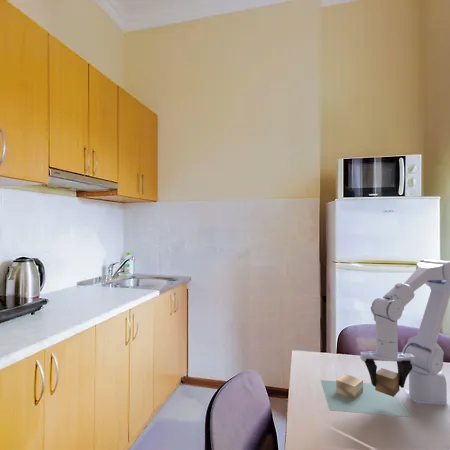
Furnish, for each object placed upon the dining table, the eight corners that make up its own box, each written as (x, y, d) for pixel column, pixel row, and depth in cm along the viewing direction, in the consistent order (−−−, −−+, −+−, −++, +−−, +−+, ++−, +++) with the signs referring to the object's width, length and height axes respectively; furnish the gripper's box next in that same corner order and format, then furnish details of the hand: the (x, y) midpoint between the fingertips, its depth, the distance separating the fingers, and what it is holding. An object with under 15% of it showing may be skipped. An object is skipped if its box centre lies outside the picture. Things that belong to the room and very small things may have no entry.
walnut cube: (399, 390, 91) (399, 373, 91) (393, 396, 88) (393, 379, 88) (381, 384, 95) (381, 367, 95) (375, 390, 92) (375, 373, 92)
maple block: (363, 392, 100) (362, 380, 100) (354, 399, 96) (354, 386, 96) (345, 385, 104) (344, 373, 104) (336, 392, 100) (336, 379, 100)
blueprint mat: (388, 385, 104) (388, 384, 104) (411, 418, 87) (411, 416, 87) (320, 381, 108) (320, 380, 108) (330, 411, 90) (330, 410, 90)
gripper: (406, 335, 95) (407, 379, 95) (357, 333, 97) (357, 377, 96) (417, 344, 88) (418, 392, 88) (364, 342, 90) (364, 389, 89)
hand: (387, 385), depth 92 cm, fingers closed on walnut cube, 7 cm apart
